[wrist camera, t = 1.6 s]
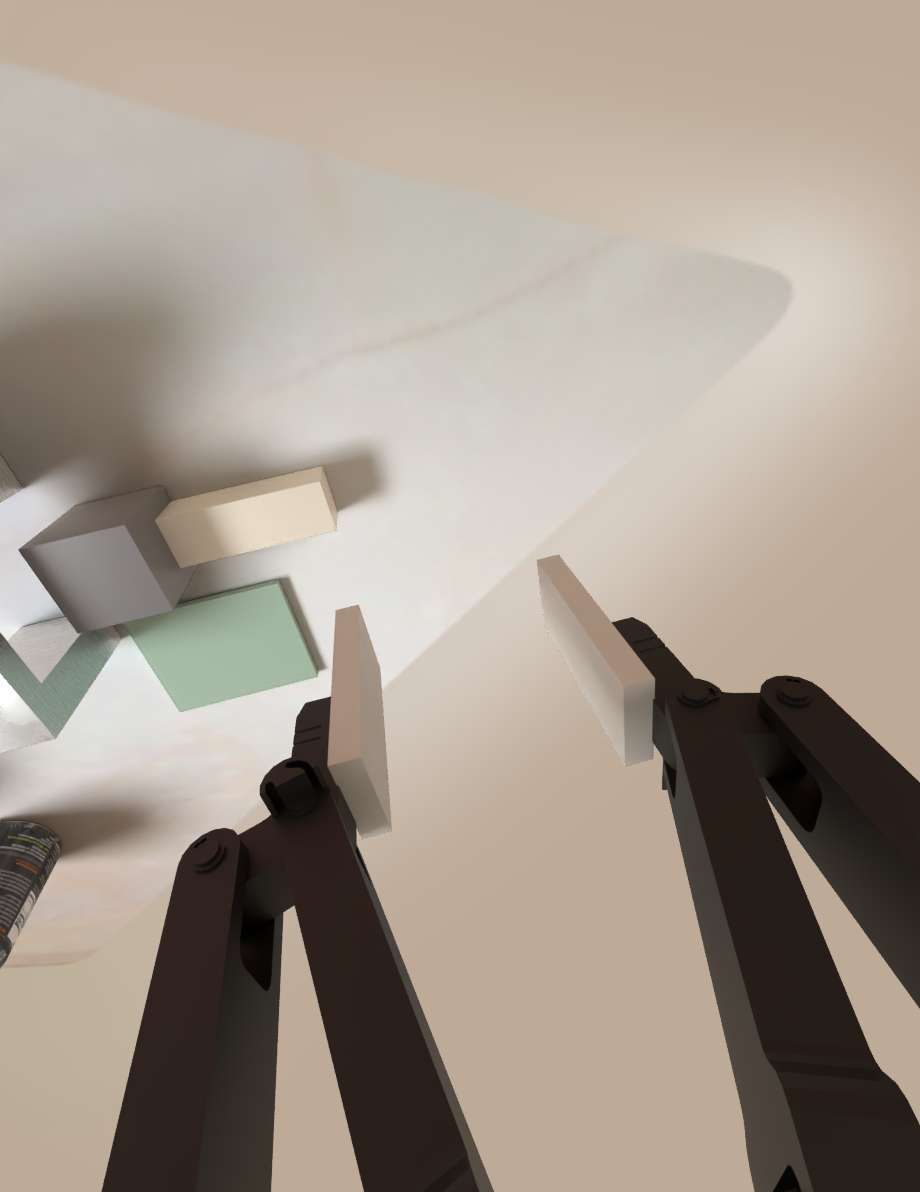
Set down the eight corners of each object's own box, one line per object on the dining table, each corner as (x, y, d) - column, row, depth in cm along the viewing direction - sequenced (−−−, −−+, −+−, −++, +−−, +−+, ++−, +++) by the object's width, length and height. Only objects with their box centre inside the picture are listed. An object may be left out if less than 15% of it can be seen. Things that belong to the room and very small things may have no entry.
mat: (182, 706, 38) (179, 712, 37) (125, 616, 34) (121, 621, 33) (318, 671, 38) (317, 676, 38) (278, 579, 34) (277, 583, 34)
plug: (104, 583, 32) (58, 638, 27) (57, 509, 30) (-4, 554, 25) (342, 526, 33) (340, 569, 28) (317, 449, 31) (309, 481, 25)
